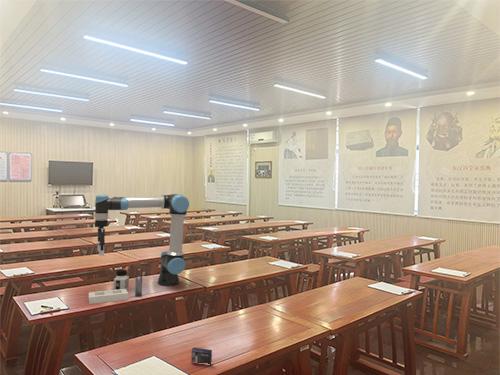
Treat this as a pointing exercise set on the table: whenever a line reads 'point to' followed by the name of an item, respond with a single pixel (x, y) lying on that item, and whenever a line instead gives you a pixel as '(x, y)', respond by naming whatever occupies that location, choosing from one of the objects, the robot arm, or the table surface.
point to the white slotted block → (107, 296)
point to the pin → (138, 287)
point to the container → (121, 280)
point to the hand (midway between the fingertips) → (100, 253)
